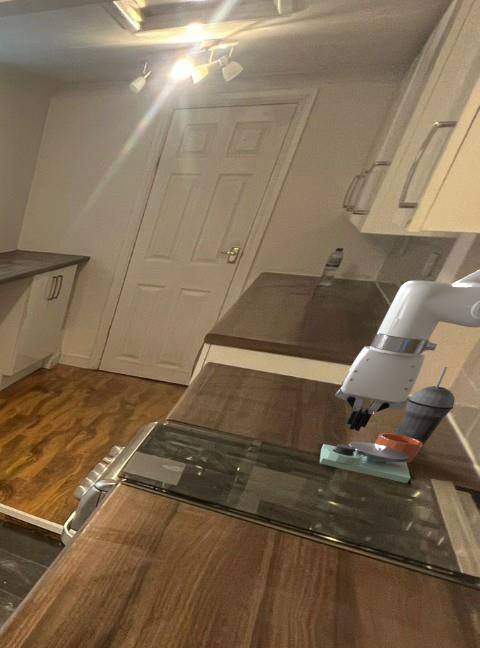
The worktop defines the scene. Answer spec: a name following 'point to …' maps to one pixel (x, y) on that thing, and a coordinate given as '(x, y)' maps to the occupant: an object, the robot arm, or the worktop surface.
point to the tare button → (345, 449)
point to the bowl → (400, 444)
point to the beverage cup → (426, 411)
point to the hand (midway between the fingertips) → (353, 428)
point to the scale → (364, 465)
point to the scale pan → (378, 453)
